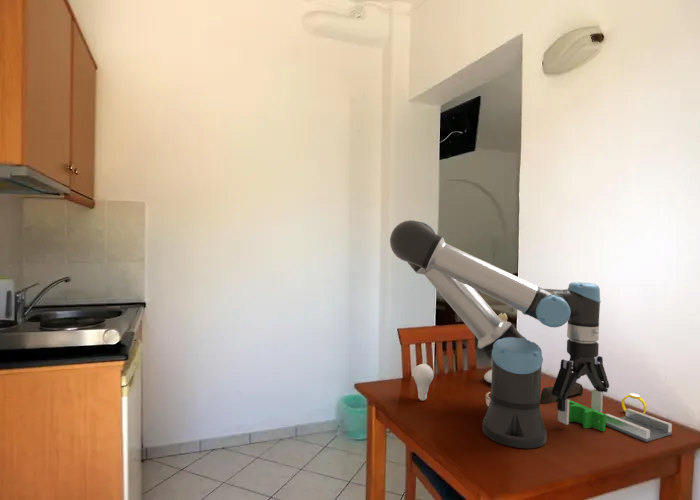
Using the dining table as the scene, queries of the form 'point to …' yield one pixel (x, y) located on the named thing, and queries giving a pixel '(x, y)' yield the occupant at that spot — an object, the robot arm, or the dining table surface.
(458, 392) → the dining table surface
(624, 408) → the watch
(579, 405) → the pipe clamp
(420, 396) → the lightbulb
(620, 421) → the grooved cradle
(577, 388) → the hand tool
